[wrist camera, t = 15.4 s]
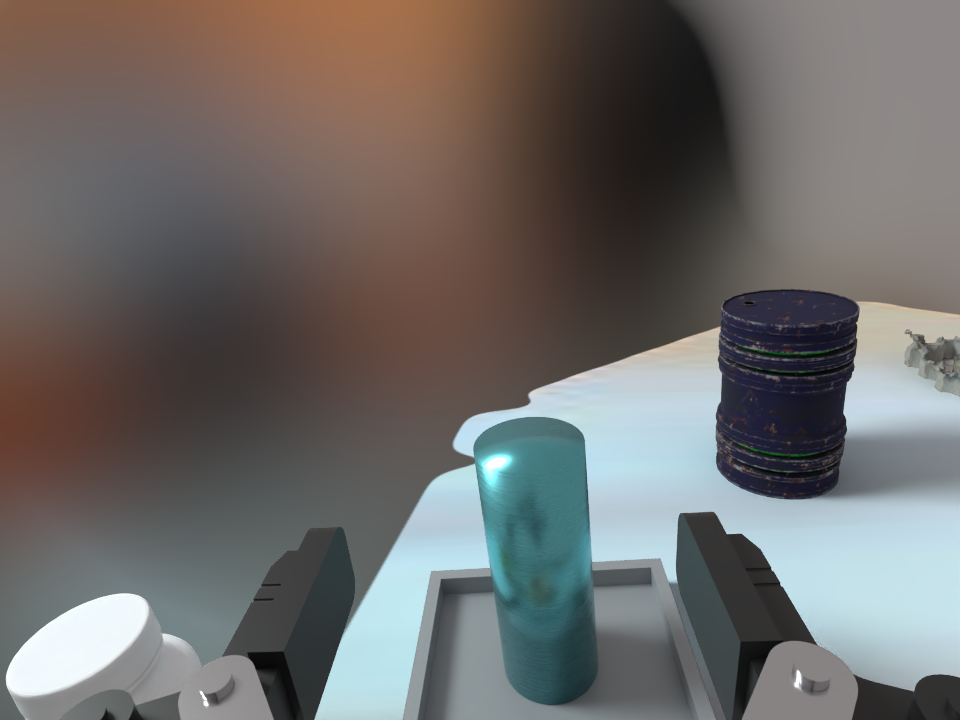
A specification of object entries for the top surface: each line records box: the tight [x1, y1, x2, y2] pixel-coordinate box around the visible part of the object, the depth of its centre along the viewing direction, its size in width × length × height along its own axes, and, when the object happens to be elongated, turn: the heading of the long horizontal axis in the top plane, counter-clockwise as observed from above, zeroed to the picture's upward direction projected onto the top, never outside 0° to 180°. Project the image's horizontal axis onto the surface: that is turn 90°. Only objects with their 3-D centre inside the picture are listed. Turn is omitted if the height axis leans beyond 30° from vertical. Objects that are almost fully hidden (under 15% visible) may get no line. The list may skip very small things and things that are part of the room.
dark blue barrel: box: [716, 289, 860, 499], centre depth 48 cm, size 10×10×15 cm
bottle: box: [473, 417, 598, 705], centre depth 31 cm, size 6×6×15 cm
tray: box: [403, 558, 716, 720], centre depth 34 cm, size 16×13×2 cm
